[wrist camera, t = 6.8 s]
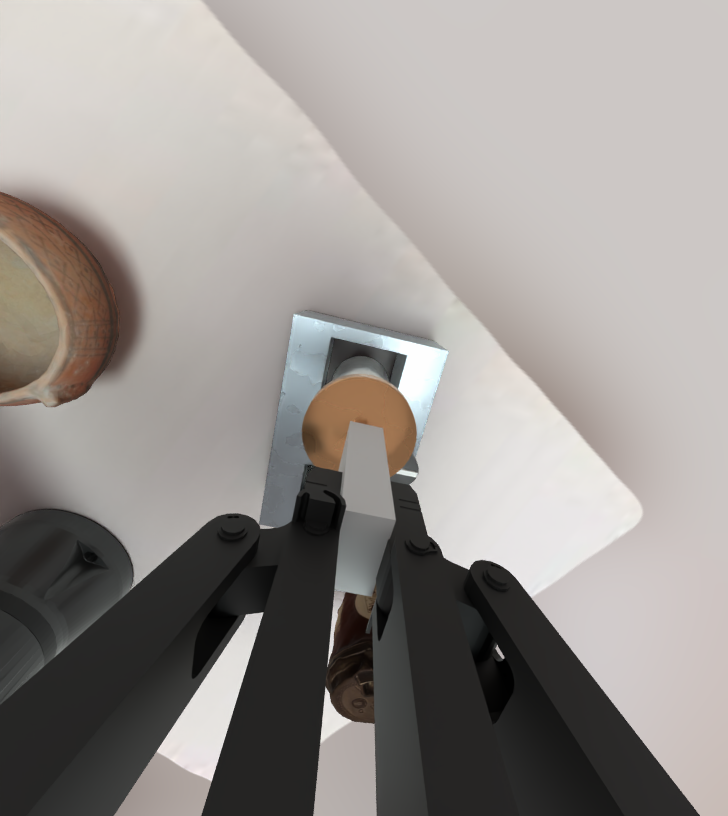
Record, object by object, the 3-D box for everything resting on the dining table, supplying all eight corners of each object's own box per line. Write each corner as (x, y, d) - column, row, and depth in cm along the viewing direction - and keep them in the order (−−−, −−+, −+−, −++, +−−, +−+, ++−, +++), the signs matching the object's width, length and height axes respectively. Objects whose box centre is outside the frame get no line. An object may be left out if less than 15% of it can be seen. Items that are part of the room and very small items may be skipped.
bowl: (131, 408, 34) (43, 453, 25) (-39, 353, 33) (-203, 378, 23) (158, 245, 30) (63, 225, 20) (-38, 170, 28) (-244, 108, 18)
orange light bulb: (317, 409, 28) (292, 473, 18) (331, 338, 26) (313, 367, 16) (387, 425, 28) (399, 495, 19) (406, 356, 26) (431, 394, 17)
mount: (274, 488, 37) (259, 524, 32) (306, 309, 31) (293, 314, 26) (383, 510, 38) (386, 548, 32) (433, 340, 32) (448, 351, 27)
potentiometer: (377, 467, 30) (378, 483, 27) (385, 438, 29) (387, 452, 26) (409, 473, 30) (413, 490, 27) (418, 444, 29) (423, 459, 27)
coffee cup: (359, 537, 39) (357, 649, 27) (420, 566, 41) (445, 686, 28) (323, 589, 42) (306, 714, 29) (382, 615, 43) (390, 745, 31)
